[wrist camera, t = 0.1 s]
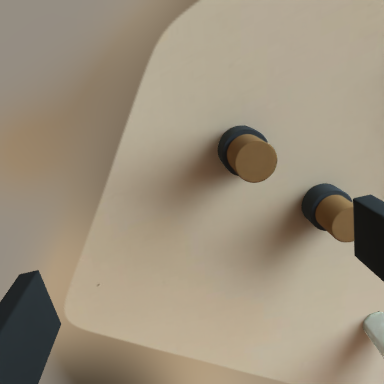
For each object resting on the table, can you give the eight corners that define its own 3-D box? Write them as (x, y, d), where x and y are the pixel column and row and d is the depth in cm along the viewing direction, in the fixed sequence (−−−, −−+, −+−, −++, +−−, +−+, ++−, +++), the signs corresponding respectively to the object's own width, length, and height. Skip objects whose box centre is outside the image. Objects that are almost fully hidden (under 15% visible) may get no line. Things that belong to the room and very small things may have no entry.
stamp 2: (299, 188, 31) (325, 208, 26) (340, 179, 31) (373, 197, 26) (303, 226, 32) (328, 251, 28) (342, 217, 32) (374, 240, 28)
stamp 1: (214, 131, 28) (225, 141, 24) (259, 121, 28) (279, 129, 24) (221, 174, 30) (234, 193, 25) (264, 165, 30) (285, 181, 25)
